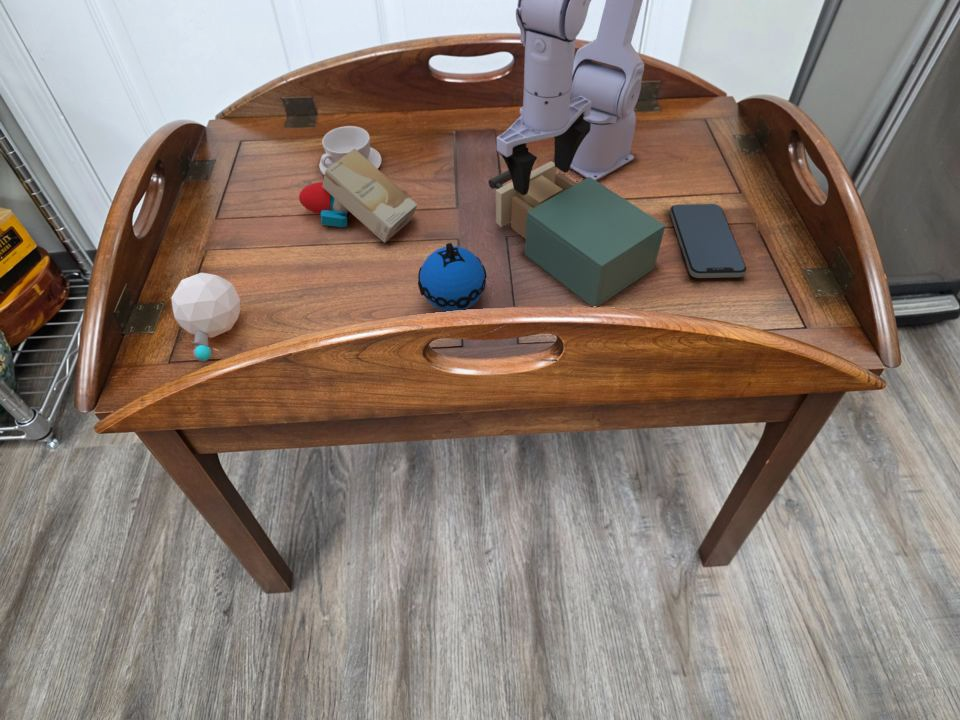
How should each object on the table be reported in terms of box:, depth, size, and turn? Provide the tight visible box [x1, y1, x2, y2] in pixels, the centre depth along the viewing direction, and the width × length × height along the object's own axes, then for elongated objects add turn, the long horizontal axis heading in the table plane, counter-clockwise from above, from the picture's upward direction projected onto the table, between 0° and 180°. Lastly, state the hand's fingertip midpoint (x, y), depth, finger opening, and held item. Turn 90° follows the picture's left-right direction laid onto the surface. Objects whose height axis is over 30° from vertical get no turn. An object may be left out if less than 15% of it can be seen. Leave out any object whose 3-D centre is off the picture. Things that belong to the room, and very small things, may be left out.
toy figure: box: [298, 181, 351, 228], centre depth 96 cm, size 8×5×15 cm
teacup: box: [318, 125, 382, 176], centre depth 103 cm, size 10×10×5 cm
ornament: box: [417, 242, 487, 312], centre depth 81 cm, size 9×9×10 cm
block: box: [518, 175, 563, 208], centre depth 91 cm, size 4×4×4 cm
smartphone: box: [669, 203, 747, 279], centre depth 91 cm, size 8×2×15 cm
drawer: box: [487, 160, 577, 240], centre depth 91 cm, size 17×10×6 cm, turn 39°
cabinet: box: [524, 177, 666, 307], centre depth 87 cm, size 14×12×8 cm
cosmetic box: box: [322, 148, 418, 244], centre depth 92 cm, size 6×4×12 cm
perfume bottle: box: [170, 272, 241, 362], centre depth 80 cm, size 8×8×12 cm
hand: (541, 179), depth 89 cm, fingers open, 7 cm apart
